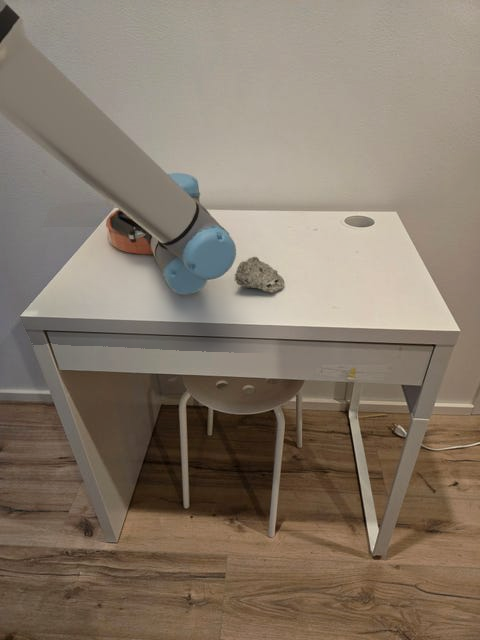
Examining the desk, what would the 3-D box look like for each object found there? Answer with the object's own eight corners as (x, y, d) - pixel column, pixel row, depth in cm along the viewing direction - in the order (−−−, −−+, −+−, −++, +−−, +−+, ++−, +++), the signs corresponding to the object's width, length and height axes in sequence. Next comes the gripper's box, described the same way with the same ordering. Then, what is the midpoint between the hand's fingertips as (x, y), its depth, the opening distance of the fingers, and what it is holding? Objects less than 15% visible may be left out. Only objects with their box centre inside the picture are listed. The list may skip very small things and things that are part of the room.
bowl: (107, 260, 94) (103, 241, 91) (112, 222, 110) (108, 205, 107) (202, 250, 97) (201, 232, 94) (193, 214, 113) (191, 197, 110)
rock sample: (282, 287, 76) (256, 245, 77) (248, 309, 80) (223, 269, 80) (297, 282, 86) (274, 245, 87) (267, 303, 89) (245, 267, 90)
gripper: (110, 270, 85) (98, 226, 101) (226, 248, 91) (197, 210, 108) (103, 234, 80) (91, 195, 97) (225, 214, 87) (195, 180, 103)
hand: (147, 203), depth 102 cm, fingers open, 12 cm apart
